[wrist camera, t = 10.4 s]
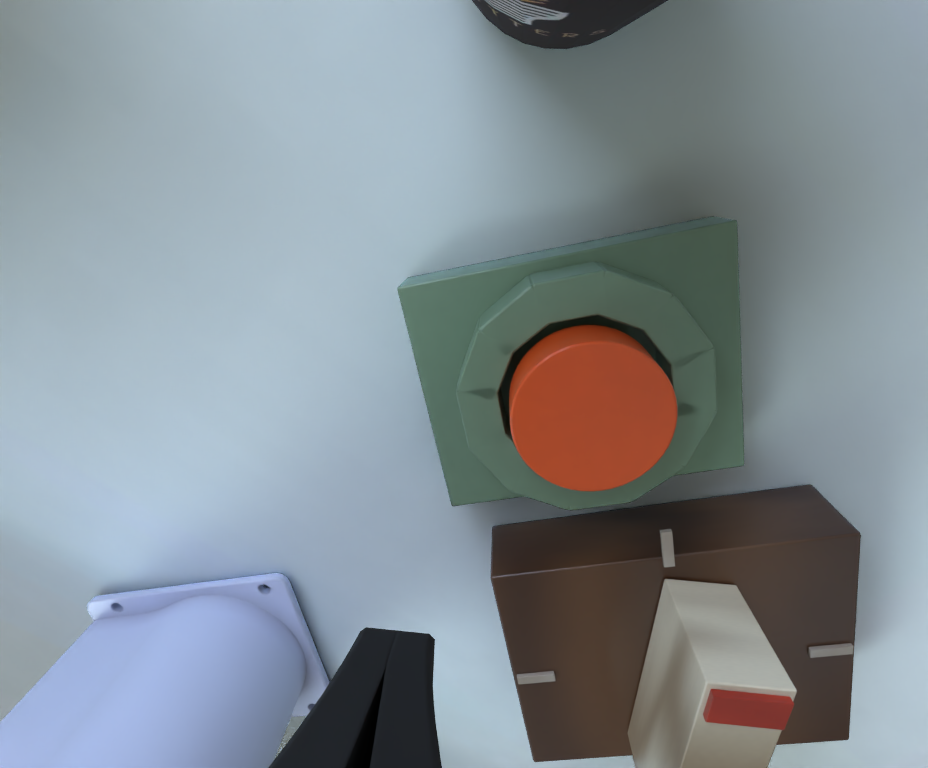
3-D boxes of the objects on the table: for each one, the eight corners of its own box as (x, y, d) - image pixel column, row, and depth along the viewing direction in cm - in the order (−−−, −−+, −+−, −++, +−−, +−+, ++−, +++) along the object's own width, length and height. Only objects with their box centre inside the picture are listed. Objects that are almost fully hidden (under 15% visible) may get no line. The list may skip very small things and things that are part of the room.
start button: (522, 471, 17) (524, 502, 15) (497, 339, 15) (495, 358, 14) (665, 450, 16) (683, 480, 15) (653, 310, 15) (672, 327, 13)
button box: (455, 480, 21) (446, 537, 17) (406, 277, 18) (385, 299, 15) (724, 441, 19) (769, 494, 16) (714, 215, 17) (766, 224, 13)
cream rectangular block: (689, 738, 21) (734, 871, 17) (627, 732, 21) (656, 862, 17) (736, 584, 18) (802, 699, 14) (663, 577, 18) (709, 690, 14)
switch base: (533, 713, 25) (538, 785, 22) (486, 502, 21) (483, 555, 18) (807, 690, 23) (851, 765, 20) (811, 457, 19) (866, 506, 16)
